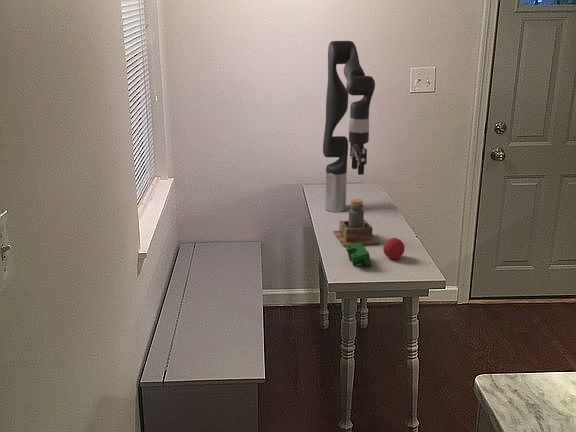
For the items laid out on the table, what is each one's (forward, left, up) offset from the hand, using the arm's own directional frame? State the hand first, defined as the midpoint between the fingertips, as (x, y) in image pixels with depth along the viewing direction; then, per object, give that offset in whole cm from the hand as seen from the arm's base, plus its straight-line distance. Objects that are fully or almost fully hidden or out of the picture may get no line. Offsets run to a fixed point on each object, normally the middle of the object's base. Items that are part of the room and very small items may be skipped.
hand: (357, 171), depth 256 cm
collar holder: (0, 0, -28) cm, 28 cm away
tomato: (+22, +8, -28) cm, 36 cm away
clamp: (+24, -6, -28) cm, 37 cm away
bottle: (0, 0, -27) cm, 27 cm away
